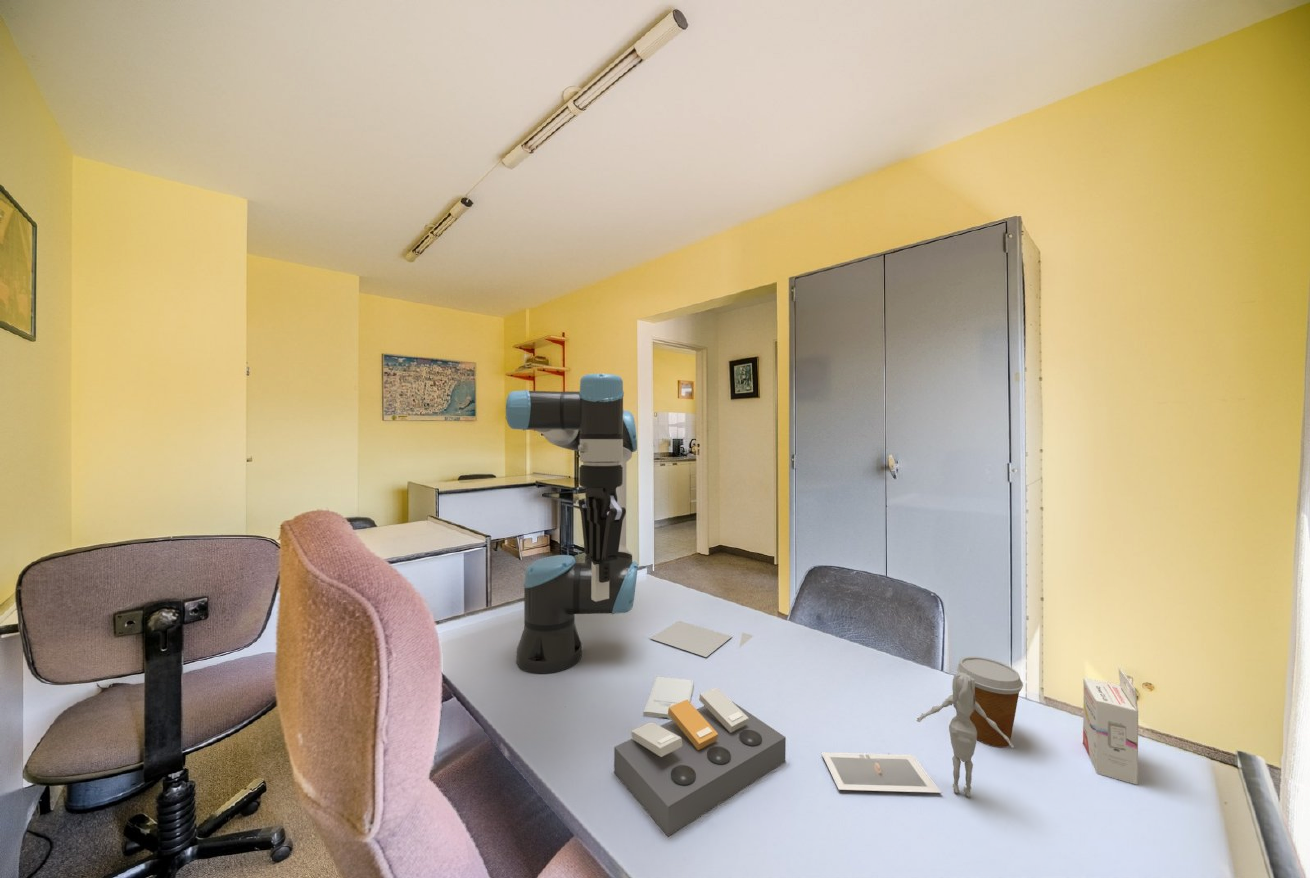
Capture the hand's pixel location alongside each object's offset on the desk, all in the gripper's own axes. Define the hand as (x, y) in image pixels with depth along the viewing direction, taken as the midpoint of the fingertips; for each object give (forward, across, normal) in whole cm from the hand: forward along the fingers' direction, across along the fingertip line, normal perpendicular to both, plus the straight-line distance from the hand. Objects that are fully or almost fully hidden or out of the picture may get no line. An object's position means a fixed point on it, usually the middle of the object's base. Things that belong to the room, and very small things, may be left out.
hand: (600, 598), depth 79 cm
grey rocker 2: (+20, +13, +17) cm, 29 cm away
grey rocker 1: (+20, +13, +3) cm, 24 cm away
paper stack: (+25, -18, +44) cm, 54 cm away
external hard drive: (+25, -2, +17) cm, 31 cm away
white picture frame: (+25, +33, +32) cm, 52 cm away
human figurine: (+25, +42, +38) cm, 62 cm away
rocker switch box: (+24, +16, +10) cm, 31 cm away
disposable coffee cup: (+25, +39, +57) cm, 73 cm away
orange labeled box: (+20, +13, +10) cm, 26 cm away
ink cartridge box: (+25, +53, +65) cm, 87 cm away
